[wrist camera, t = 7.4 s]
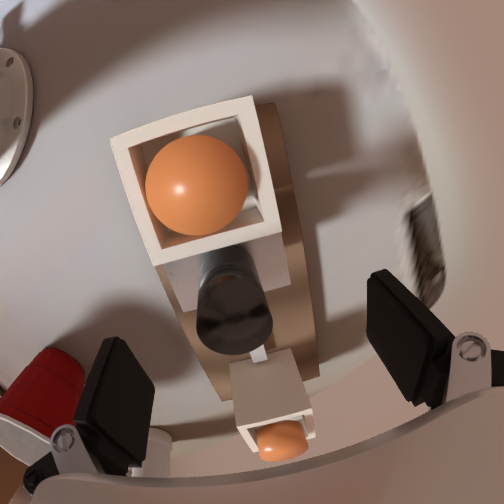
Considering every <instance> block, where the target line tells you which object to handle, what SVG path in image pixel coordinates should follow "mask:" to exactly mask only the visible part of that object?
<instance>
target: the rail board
mask: <svg viewBox="0 0 504 504" xmlns="http://www.w3.org/2000/svg"><path fill="white" fill-rule="evenodd" d="M255 109H256V114H257V118H258V122H259V126H260V130H261V135H262V139H263V143H264V148H265V152H266V157H267V161H268V166H269V170H270V175H271V179H272V184H273V189H274V194H275V198H276V203H277V208H278V213H279V218H280V223H281V228H282V232H281V234H282V239H283V244H284V249H285V254H286V260H287V265H288V270H289V276H290V281H291V285H287V286H284V287H280V288H277V289H273V290H269V291H266V292H264V294H265V297H266V300H267V303H268V306H269V309H270V312H271V315H272V319H273V329H272V332H271V335H270V336H269V338H268V339H267V341H266V342H265V343H264V344H263V345H261V346H260V347H259V348H257V349H255V350H253V351H251V352H249V353H245V354H241V355H224V354H220V353H217V352H214V351H212V350H210V349H209V348H207V347H206V346H205V345H204V344H203V343H202V342H201V341H200V339H199V337H198V335H197V331H196V320H197V309H195V310H191V311H187V312H183V311H182V308H181V306H180V304H179V302H178V299H177V297H176V295H175V292H174V290H173V288H172V285H171V283H170V281H169V278H168V276H167V273H166V271H165V268H164V266H163V264H160V265H157V266H155V268H156V271H157V273H158V275H159V278H160V280H161V282H162V285H163V287H164V289H165V291H166V294H167V296H168V298H169V300H170V302H171V305H172V307H173V309H174V311H175V313H176V315H177V318H178V320H179V322H180V324H181V326H182V328H183V330H184V332H185V334H186V336H187V338H188V340H189V342H190V344H191V346H192V348H193V350H194V352H195V354H196V356H197V358H198V360H199V361H200V363H201V365H202V367H203V369H204V371H205V373H206V374H207V376H208V378H209V380H210V382H211V383H212V385H213V387H214V389H215V391H216V392H217V394H218V396H219V397H220V399H221V401H227V400H232V399H233V396H232V387H231V378H230V369H229V363H233V362H238V361H242V360H246V359H250V358H252V361H253V363H256V362H260V361H264V360H268V359H267V355H266V354H270V353H273V352H277V351H281V350H284V349H288V348H291V351H292V354H293V356H294V359H295V362H296V365H297V368H298V370H299V373H300V376H301V379H302V382H303V381H307V380H310V379H313V378H316V377H319V376H320V373H319V363H318V353H317V344H316V335H315V326H314V318H313V310H312V302H311V295H310V287H309V280H308V273H307V266H306V260H305V253H304V247H303V241H302V235H301V229H300V223H299V217H298V211H297V206H296V200H295V195H294V189H293V184H292V179H291V174H290V169H289V164H288V159H287V154H286V149H285V145H284V140H283V135H282V131H281V126H280V122H279V117H278V113H277V109H276V104H275V103H269V104H264V105H259V106H255Z"/></svg>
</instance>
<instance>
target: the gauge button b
mask: <svg viewBox="0 0 504 504" xmlns="http://www.w3.org/2000/svg"><path fill="white" fill-rule="evenodd" d="M256 438H257V443H258V449H259V454H260V458H261V459H263V460H265V461H283V460H288V459H291V458H294V457H297V456H299V455H301V454H303V453H304V452H305V451H306V450H307V449H308V443H307V440H306V437H305V434H304V430H303V427H302V424H301V423H300V422H298V421H294V420H283V421H278V422H274V423H270V424H267V425H265V426H263V427H262V428H260V429H259V430H258V431H257V433H256Z"/></svg>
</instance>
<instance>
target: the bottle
mask: <svg viewBox="0 0 504 504" xmlns="http://www.w3.org/2000/svg"><path fill="white" fill-rule="evenodd" d="M171 450H172V438H171V436H170V435H169V433H167V432H165V431H164V430H161V429H158V428H152V427H149V435H148V443H147V451H146V459H145V460H144V461H142V468H132V477H155V478H170V451H171Z"/></svg>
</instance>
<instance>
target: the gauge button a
mask: <svg viewBox="0 0 504 504" xmlns="http://www.w3.org/2000/svg"><path fill="white" fill-rule="evenodd" d="M247 189H248V180H247V174H246V170H245V167H244V165H243V163H242V161H241V159H240V158H239V156H238V155H237V154H236V152H235V151H234V150H233V149H232V148H231V147H229V146H228V145H227V144H226V143H224V142H223V141H221V140H219V139H217V138H214V137H211V136H207V135H191V136H186V137H182V138H179V139H176V140H174V141H172V142H170V143H169V144H167V145H166V146H165V147H163V148H162V149H161V150H160V151H159V152H158V153H157V155H156V156H155V157H154V159H153V160H152V162H151V164H150V166H149V169H148V172H147V175H146V182H145V190H146V197H147V201H148V203H149V206H150V208H151V210H152V212H153V213H154V215H155V216H156V217H157V218H158V219H159V220H160V221H161V222H162V223H163V224H164V225H165V226H167V227H168V228H170V229H172V230H174V231H176V232H178V233H182V234H186V235H195V236H198V235H206V234H210V233H213V232H216V231H218V230H220V229H222V228H224V227H225V226H227V225H228V224H229V223H230V222H232V221H233V219H234V218H235V217H236V216H237V215H238V213H239V212H240V210H241V209H242V207H243V205H244V202H245V199H246V195H247Z"/></svg>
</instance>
